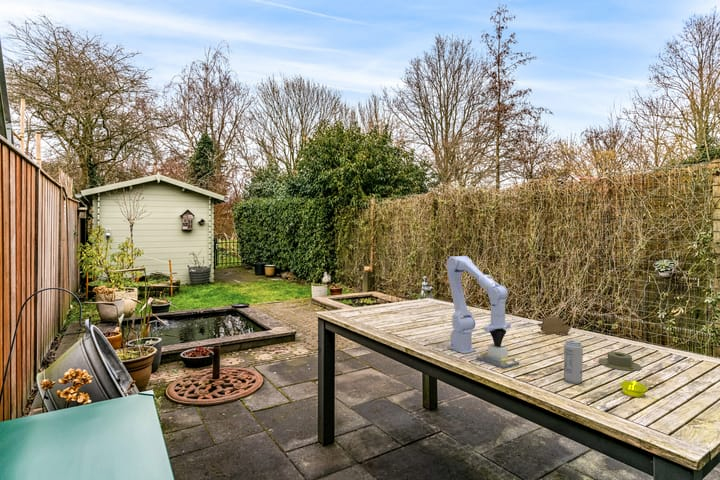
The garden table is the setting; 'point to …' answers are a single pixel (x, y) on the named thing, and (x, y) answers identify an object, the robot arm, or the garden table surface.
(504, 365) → the rail base
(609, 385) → the garden table surface
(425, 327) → the garden table surface
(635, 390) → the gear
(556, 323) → the wooden carving
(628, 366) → the flange
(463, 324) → the robot arm
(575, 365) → the energy drink can
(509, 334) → the garden table surface
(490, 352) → the block
